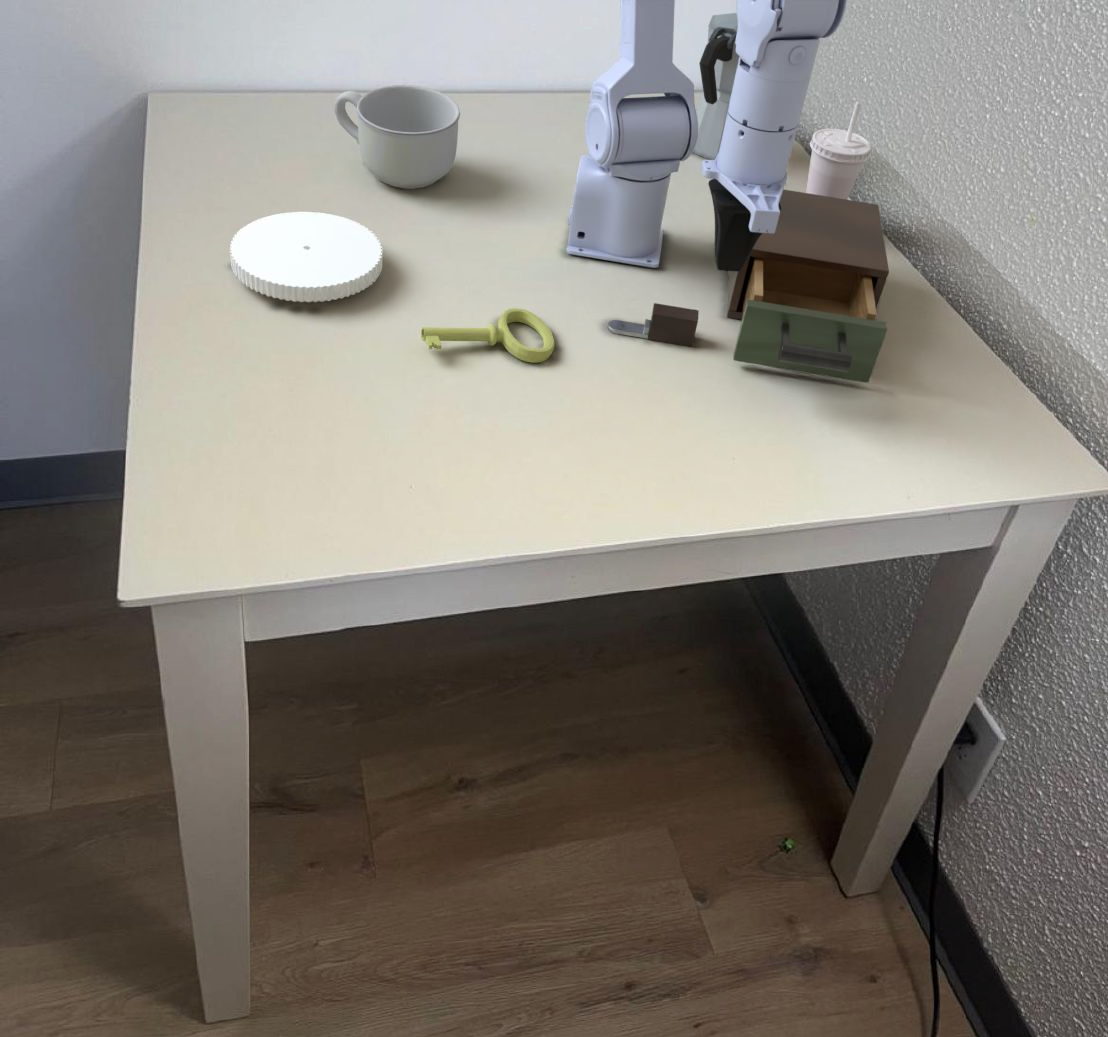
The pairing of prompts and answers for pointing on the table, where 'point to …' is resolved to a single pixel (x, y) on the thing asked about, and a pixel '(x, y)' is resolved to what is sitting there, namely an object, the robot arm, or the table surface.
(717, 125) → the coffee maker
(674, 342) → the knife
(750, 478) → the table surface
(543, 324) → the key
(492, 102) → the table surface
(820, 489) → the table surface
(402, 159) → the teacup
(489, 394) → the table surface
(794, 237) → the cabinet
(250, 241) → the white gear
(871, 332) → the drawer
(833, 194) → the smoothie
